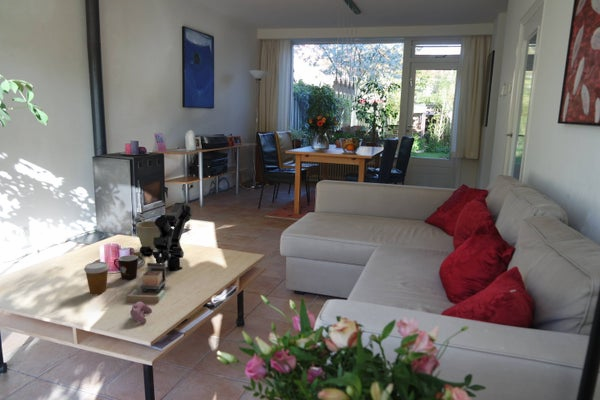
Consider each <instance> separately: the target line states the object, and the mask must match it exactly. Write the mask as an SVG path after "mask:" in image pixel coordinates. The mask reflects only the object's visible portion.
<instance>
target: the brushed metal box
mask: <svg viewBox="0 0 600 400" xmlns="http://www.w3.org/2000/svg"><path fill="white" fill-rule="evenodd" d="M165 267H166V263H164V264H163V263H156V262H155V263H154V262H148V263H147V267H146V268H147V271H145V273H144V274H142V284H141V285H140V289H141V291H142V292H143V293H146V292H148V290H149V289H150V290H151V289H153V290H154V292H155V293H156V294H159V293H160V292H161V288H165V287H166V282H167V279H166V276H167V274H166V269H165Z"/></svg>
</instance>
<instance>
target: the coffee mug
mask: <svg viewBox="0 0 600 400" xmlns="http://www.w3.org/2000/svg"><path fill="white" fill-rule="evenodd" d="M116 261H118V264H117V263H116ZM138 263H139V256H138V255H135V254H125V255H122V256H119V257H118V258H115V259H114V260H113V265H114V266H115V267H116V269H118V270H119V273H120V279H121V280H123V281H131V280H135V279H136V278H137V274H138Z"/></svg>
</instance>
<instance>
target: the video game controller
mask: <svg viewBox="0 0 600 400" xmlns="http://www.w3.org/2000/svg"><path fill="white" fill-rule="evenodd" d="M152 312H153V309H152V308H151V307H150V306H148V305H146V304H145V303H143V302H141V301H140V302H134V304H133V305H132V307H131V310H130V316H131V318H132V319H134V320H135V321H137V322H138V323H140V324H146V323H147V318H146V317H145V316H144V313H145V314H146V313H147V314H148V313H152Z"/></svg>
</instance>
